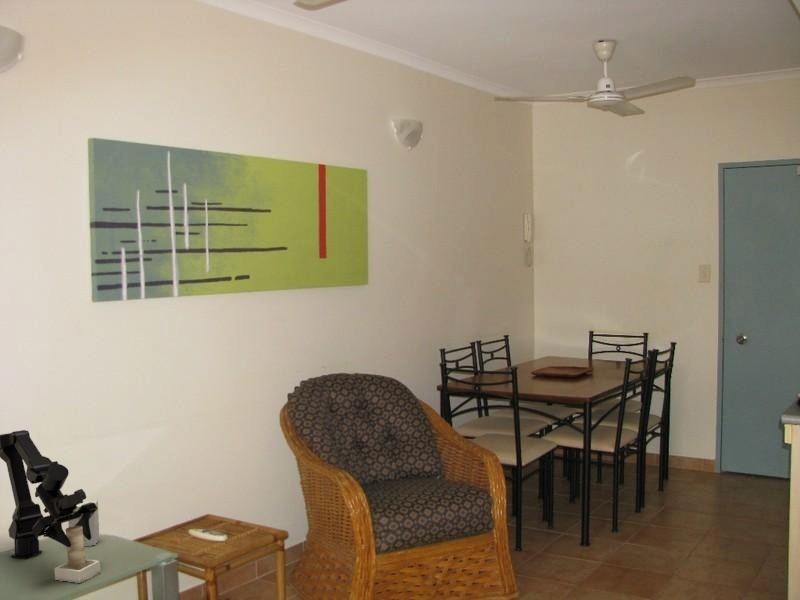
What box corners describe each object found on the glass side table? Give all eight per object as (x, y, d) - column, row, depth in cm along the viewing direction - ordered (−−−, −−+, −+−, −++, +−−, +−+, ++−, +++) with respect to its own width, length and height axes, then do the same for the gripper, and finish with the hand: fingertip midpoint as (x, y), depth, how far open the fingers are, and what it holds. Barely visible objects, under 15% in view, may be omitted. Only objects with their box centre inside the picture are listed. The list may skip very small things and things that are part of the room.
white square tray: (54, 580, 230) (54, 568, 230) (76, 569, 238) (75, 557, 238) (79, 583, 227) (79, 571, 227) (100, 572, 235) (100, 561, 235)
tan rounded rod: (65, 575, 231) (62, 530, 231) (76, 570, 236) (73, 525, 236) (78, 576, 230) (74, 530, 230) (89, 570, 234) (85, 525, 234)
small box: (99, 539, 265) (98, 500, 265) (95, 546, 259) (94, 505, 258) (73, 541, 264) (72, 501, 263) (68, 547, 258) (67, 507, 257)
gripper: (37, 490, 226) (65, 535, 221) (92, 475, 242) (119, 516, 237) (20, 514, 230) (47, 559, 225) (75, 497, 246) (101, 539, 241)
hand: (80, 542), depth 232 cm, fingers open, 7 cm apart
